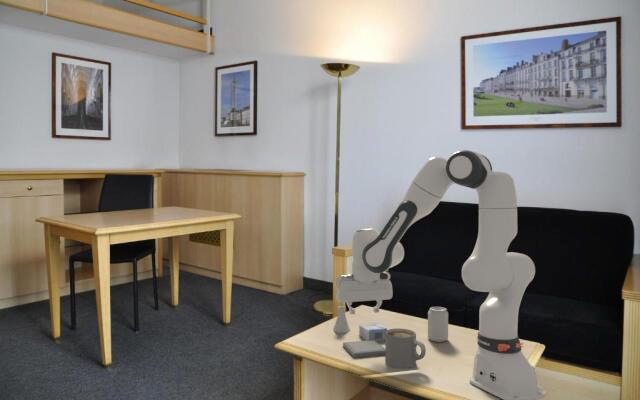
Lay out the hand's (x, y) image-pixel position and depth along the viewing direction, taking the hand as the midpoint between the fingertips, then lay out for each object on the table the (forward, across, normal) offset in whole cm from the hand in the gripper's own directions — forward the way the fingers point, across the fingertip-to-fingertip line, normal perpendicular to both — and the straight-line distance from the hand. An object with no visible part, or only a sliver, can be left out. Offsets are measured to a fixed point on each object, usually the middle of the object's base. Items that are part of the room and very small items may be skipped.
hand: (364, 313), depth 177 cm
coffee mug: (+13, +8, -16) cm, 23 cm away
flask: (+14, -1, +23) cm, 27 cm away
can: (+14, +31, +4) cm, 34 cm away
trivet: (+13, 0, 0) cm, 13 cm away
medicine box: (+11, +9, +8) cm, 16 cm away
